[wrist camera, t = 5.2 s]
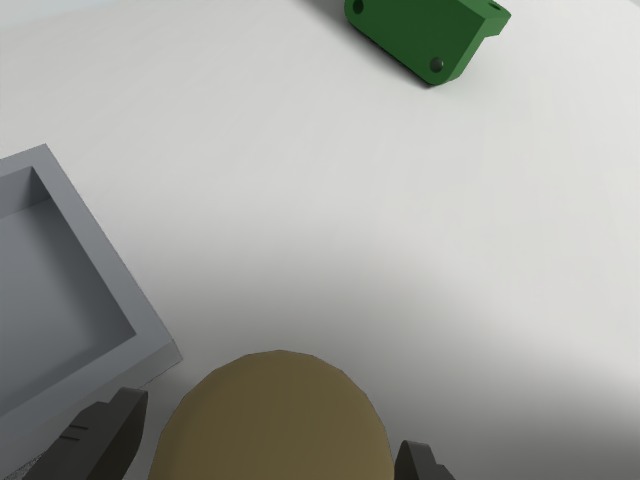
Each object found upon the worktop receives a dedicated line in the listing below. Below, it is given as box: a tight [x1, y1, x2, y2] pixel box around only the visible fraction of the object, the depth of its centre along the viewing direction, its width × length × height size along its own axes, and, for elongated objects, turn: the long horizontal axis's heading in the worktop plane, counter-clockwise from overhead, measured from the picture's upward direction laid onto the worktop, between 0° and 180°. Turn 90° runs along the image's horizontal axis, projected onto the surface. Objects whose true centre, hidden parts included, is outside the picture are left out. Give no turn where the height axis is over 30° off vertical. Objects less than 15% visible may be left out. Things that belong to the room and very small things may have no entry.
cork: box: [148, 350, 394, 480], centre depth 12 cm, size 6×6×11 cm
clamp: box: [344, 0, 511, 85], centre depth 32 cm, size 12×6×9 cm, turn 38°
